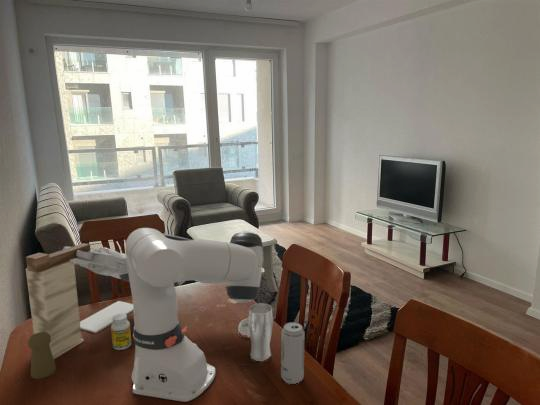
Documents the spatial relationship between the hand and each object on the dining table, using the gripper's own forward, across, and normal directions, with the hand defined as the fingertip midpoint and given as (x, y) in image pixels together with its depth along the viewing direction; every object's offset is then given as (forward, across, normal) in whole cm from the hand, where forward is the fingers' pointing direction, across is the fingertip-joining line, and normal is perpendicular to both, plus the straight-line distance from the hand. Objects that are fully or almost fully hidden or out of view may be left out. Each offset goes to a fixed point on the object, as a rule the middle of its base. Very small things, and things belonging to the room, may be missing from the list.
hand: (71, 251), depth 118 cm
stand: (-8, 0, -28) cm, 29 cm away
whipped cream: (-34, -49, -13) cm, 61 cm away
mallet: (+2, 0, -3) cm, 4 cm away
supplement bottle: (-15, -17, -24) cm, 33 cm away
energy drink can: (-20, -70, -21) cm, 76 cm away
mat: (-25, +1, -18) cm, 31 cm away
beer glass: (-25, -58, -18) cm, 66 cm away
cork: (+1, -7, -33) cm, 34 cm away
